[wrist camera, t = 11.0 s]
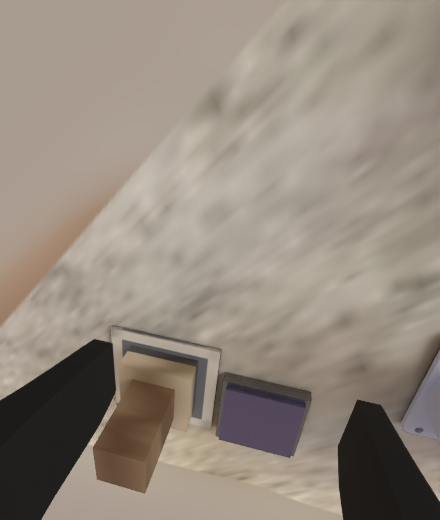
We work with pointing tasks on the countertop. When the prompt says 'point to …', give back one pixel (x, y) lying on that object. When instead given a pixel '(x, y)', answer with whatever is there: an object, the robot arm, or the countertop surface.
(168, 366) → the stamp
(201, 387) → the print mark
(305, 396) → the ink pad
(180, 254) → the countertop surface
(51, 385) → the robot arm
